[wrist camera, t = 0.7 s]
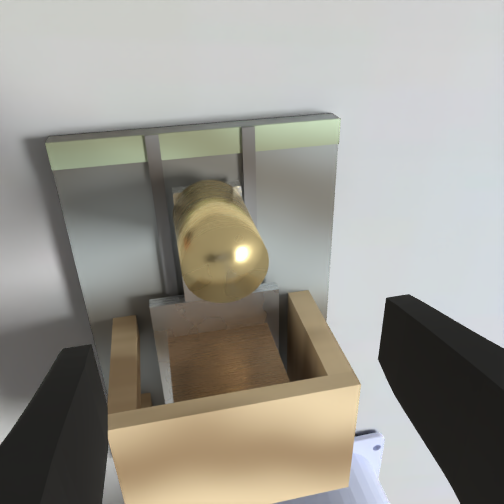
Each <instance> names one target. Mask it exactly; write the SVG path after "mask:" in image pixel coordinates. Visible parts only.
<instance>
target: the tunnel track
mask: <svg viewBox="0 0 504 504" xmlns="http://www.w3.org/2000/svg"><path fill="white" fill-rule="evenodd" d="M340 120H341V119H340V118H339V117H337V116H336V115H334V114H333V113H330V114H318V115H306V116H293V117H281V118H269V119H256V120H244V121H232V122H219V123H207V124H195V125H183V126H170V127H158V128H146V129H133V130H121V131H109V132H97V133H84V134H72V135H60V136H49V137H48V139H47V141H46V143H45V145H46V149H47V153H48V157H49V161H50V165H51V170H52V171H53V175H54V179H55V183H56V187H57V191H58V196H59V200H60V204H61V208H62V212H63V216H64V220H65V224H66V228H67V232H68V236H69V240H70V244H71V249H72V253H73V257H74V261H75V265H76V269H77V273H78V277H79V281H80V285H81V289H82V293H83V297H84V301H85V306H86V310H87V314H88V318H89V322H90V326H91V330H92V334H93V338H94V342H95V346H96V350H97V354H98V359H99V363H100V367H101V371H102V375H103V379H104V383H105V387H106V391H107V395H108V405H107V407H108V441H109V445H110V449H111V452H112V456H113V460H114V464H115V468H116V472H117V475H118V479H119V483H120V487H121V491H122V495H123V498H124V502H125V504H273V503H277V502H282V501H286V500H291V499H296V498H300V497H305V496H309V495H314V494H318V493H323V492H328V491H332V490H337V489H341V488H346V487H348V486H349V478H350V470H351V462H352V453H353V445H354V437H355V429H356V420H357V412H358V404H359V396H360V387H361V384H360V382H359V380H358V378H357V377H356V375H355V373H354V371H353V369H352V368H351V366H350V364H349V362H348V360H347V359H346V357H345V355H344V353H343V351H342V350H341V348H340V346H339V344H338V342H337V341H336V339H335V337H334V335H333V333H332V332H331V330H330V328H329V326H328V324H327V323H326V318H327V303H328V288H329V273H330V258H331V242H332V227H333V212H334V197H335V182H336V166H337V151H338V144H339V135H340ZM202 180H219V181H223V182H229V181H239V183H240V185H241V191H242V199H243V201H244V203H245V205H246V208H247V210H248V212H249V214H250V216H251V218H252V220H253V222H254V224H255V226H256V228H257V230H258V232H259V234H260V236H261V238H262V240H263V243H264V245H265V247H266V249H267V252H268V256H269V267H268V271H267V274H266V276H265V278H264V280H263V282H262V283H261V284H263V283H270V282H276V284H277V286H278V288H279V355H280V357H281V360H282V362H283V365H284V368H285V370H286V373H287V375H288V378H289V381H290V382H288V383H283V384H277V385H271V386H266V387H260V388H254V389H249V390H243V391H237V392H232V393H226V394H220V395H215V396H209V397H204V398H198V399H192V400H187V401H181V402H175V403H170V404H165V399H164V393H163V387H162V381H161V374H160V368H159V362H158V356H157V350H156V344H155V338H154V332H153V325H152V319H151V313H150V306H149V299H156V298H163V297H170V296H178V295H184V289H183V280H182V272H181V265H180V259H179V253H178V246H177V240H176V234H175V228H174V222H173V208H174V203H173V195H172V187H180V186H190V185H191V184H193V183H196V182H199V181H202Z"/></svg>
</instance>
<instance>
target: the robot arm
mask: <svg viewBox="0 0 504 504" xmlns="http://www.w3.org/2000/svg"><path fill="white" fill-rule="evenodd" d="M378 360H379V362H380V365H381V367H382V369H383V372H384V374H385V376H386V378H387V380H388V383H389V385H390V387H391V389H392V391H393V393H394V395H395V397H396V398H397V400H398V401H399V403H400V405H401V406H402V408H403V410H404V411H405V413H406V414H407V416H408V418H409V419H410V421H411V422H412V424H413V426H414V427H415V429H416V430H417V432H418V433H419V435H420V436H421V438H422V440H423V441H424V443H425V444H426V446H427V448H428V449H429V451H430V452H431V454H432V455H433V457H434V459H435V460H436V462H437V463H438V465H439V466H440V468H441V470H442V471H443V473H444V475H445V476H446V478H447V480H448V481H449V483H450V485H451V487H452V488H453V490H454V492H455V494H456V496H457V498H458V500H459V502H460V504H504V348H502V347H500V346H498V345H496V344H495V343H493V342H491V341H489V340H487V339H486V338H484V337H482V336H480V335H479V334H477V333H475V332H473V331H472V330H470V329H468V328H466V327H465V326H463V325H461V324H460V323H458V322H456V321H454V320H453V319H451V318H449V317H448V316H446V315H444V314H443V313H441V312H439V311H438V310H436V309H434V308H432V307H431V306H429V305H427V304H426V303H424V302H422V301H420V300H418V299H417V298H415V297H413V296H411V295H409V294H408V295H401V296H395V297H389V298H386V303H385V311H384V318H383V326H382V334H381V341H380V349H379V356H378ZM384 441H385V439H384V437H383V435H382V434H381V433H379V432H376V433H371V434H366V435H361V436H356V437H354V445H353V453H352V462H351V470H350V478H349V486H348V487H346V488H341V489H337V490H332V491H328V492H323V493H318V494H314V495H309V496H305V497H300V498H296V499H291V500H286V501H282V502H277V503H273V504H390V502H389V500H388V498H387V496H386V494H385V492H384V490H383V488H382V486H381V483H380V481H379V479H378V477H379V471H380V465H381V459H382V453H383V447H384ZM107 453H108V407H107V403H106V399H105V395H104V391H103V388H102V384H101V380H100V376H99V372H98V368H97V364H96V361H95V357H94V353H93V349H92V345H91V344H90V345H84V346H78V347H71V348H65V349H63V350H62V351H61V352H60V353H59V355H58V357H57V359H56V360H55V362H54V364H53V365H52V367H51V369H50V371H49V372H48V374H47V376H46V377H45V379H44V381H43V382H42V384H41V385H40V387H39V389H38V390H37V392H36V393H35V395H34V397H33V398H32V400H31V401H30V403H29V404H28V406H27V407H26V409H25V410H24V412H23V413H22V415H21V416H20V418H19V419H18V421H17V422H16V424H15V425H14V427H13V428H12V430H11V431H10V432H9V434H8V435H7V436H6V438H5V439H4V441H3V442H2V443H1V445H0V504H102V498H103V489H104V480H105V472H106V463H107Z"/></svg>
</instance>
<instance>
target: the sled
mask: <svg viewBox="0 0 504 504" xmlns="http://www.w3.org/2000/svg"><path fill="white" fill-rule="evenodd" d="M172 195H173V203H174V208H173V222H174V228H175V234H176V240H177V246H178V253H179V259H180V265H181V272H182V280H183V289H184V295H178V296H170V297H163V298H156V299H149V306H150V313H151V319H152V325H153V332H154V338H155V344H156V350H157V356H158V362H159V368H160V374H161V381H162V387H163V393H164V399H165V404H170V403H175V402H181V401H187V400H192V399H198V398H204V397H209V396H215V395H220V394H226V393H232V392H237V391H243V390H249V389H254V388H260V387H266V386H271V385H277V384H283V383H288V382H290V381H289V378H288V375H287V373H286V370H285V368H284V365H283V362H282V360H281V357H280V355H279V288H278V286H277V284H276V282H270V283H263V284H261V283H262V282H263V280H264V278H265V276H266V274H267V271H268V267H269V256H268V252H267V249H266V247H265V245H264V243H263V240H262V238H261V236H260V234H259V232H258V230H257V228H256V226H255V224H254V222H253V220H252V218H251V216H250V214H249V212H248V210H247V208H246V205H245V203H244V201H243V199H242V191H241V185H240V183H239V181H229V182H223V181H219V180H202V181H199V182H196V183H193V184H191V185H190V186H180V187H172Z"/></svg>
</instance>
